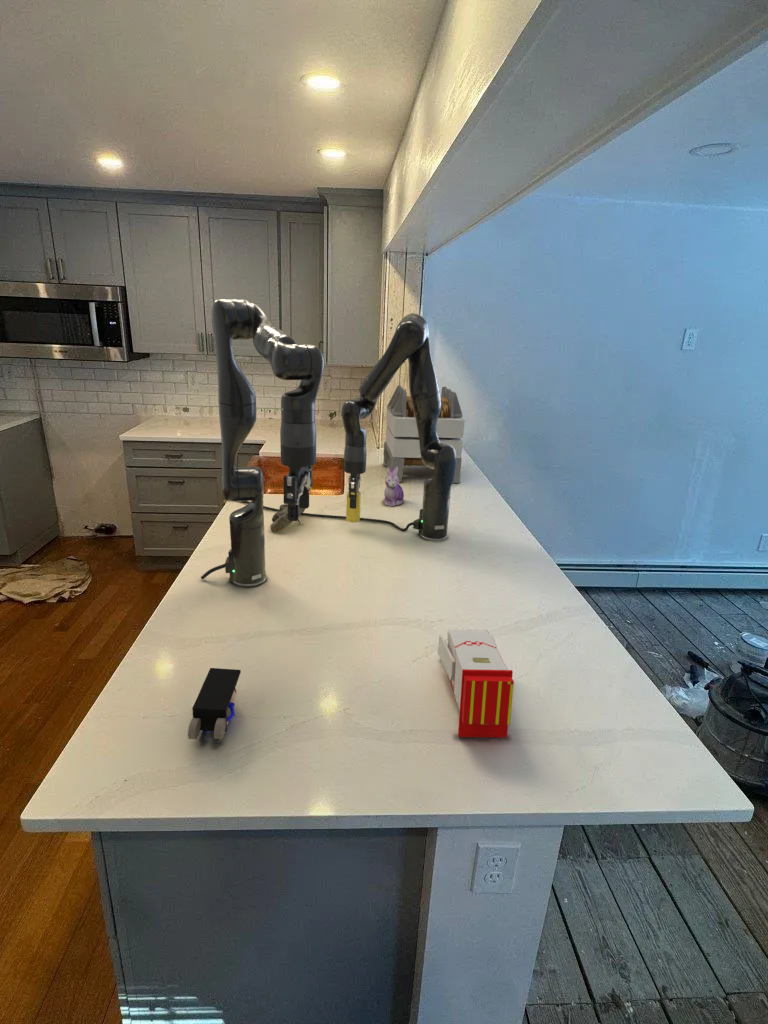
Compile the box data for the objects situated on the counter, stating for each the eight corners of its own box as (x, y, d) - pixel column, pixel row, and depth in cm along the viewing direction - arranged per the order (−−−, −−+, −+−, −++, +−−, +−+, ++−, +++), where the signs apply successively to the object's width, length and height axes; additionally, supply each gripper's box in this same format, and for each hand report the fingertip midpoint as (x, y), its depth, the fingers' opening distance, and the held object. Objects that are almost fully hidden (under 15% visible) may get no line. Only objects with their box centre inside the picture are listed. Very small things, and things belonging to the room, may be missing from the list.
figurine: (388, 507, 225) (390, 471, 220) (377, 500, 233) (378, 464, 228) (409, 505, 229) (411, 469, 224) (397, 497, 238) (399, 462, 232)
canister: (348, 523, 196) (349, 495, 193) (344, 518, 200) (345, 491, 197) (361, 521, 198) (362, 494, 194) (357, 517, 202) (358, 490, 199)
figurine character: (226, 757, 100) (244, 694, 114) (223, 726, 97) (241, 665, 110) (188, 756, 100) (210, 694, 114) (183, 725, 97) (207, 664, 110)
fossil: (276, 500, 214) (305, 479, 209) (292, 519, 217) (322, 499, 212) (259, 527, 195) (291, 505, 190) (277, 547, 198) (310, 526, 193)
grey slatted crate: (382, 463, 289) (386, 382, 275) (445, 464, 293) (451, 384, 279) (390, 482, 257) (394, 392, 243) (460, 483, 261) (468, 394, 247)
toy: (488, 613, 130) (523, 677, 101) (484, 667, 133) (517, 744, 104) (435, 612, 130) (455, 676, 101) (432, 666, 133) (451, 743, 103)
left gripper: (306, 451, 113) (306, 526, 118) (323, 436, 126) (323, 505, 132) (270, 448, 114) (272, 523, 119) (291, 434, 127) (291, 502, 133)
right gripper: (346, 452, 198) (345, 498, 204) (341, 462, 185) (340, 511, 191) (367, 453, 198) (366, 499, 204) (364, 464, 185) (362, 513, 190)
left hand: (299, 513), depth 125 cm, fingers open, 8 cm apart
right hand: (353, 505), depth 197 cm, fingers closed on canister, 5 cm apart
